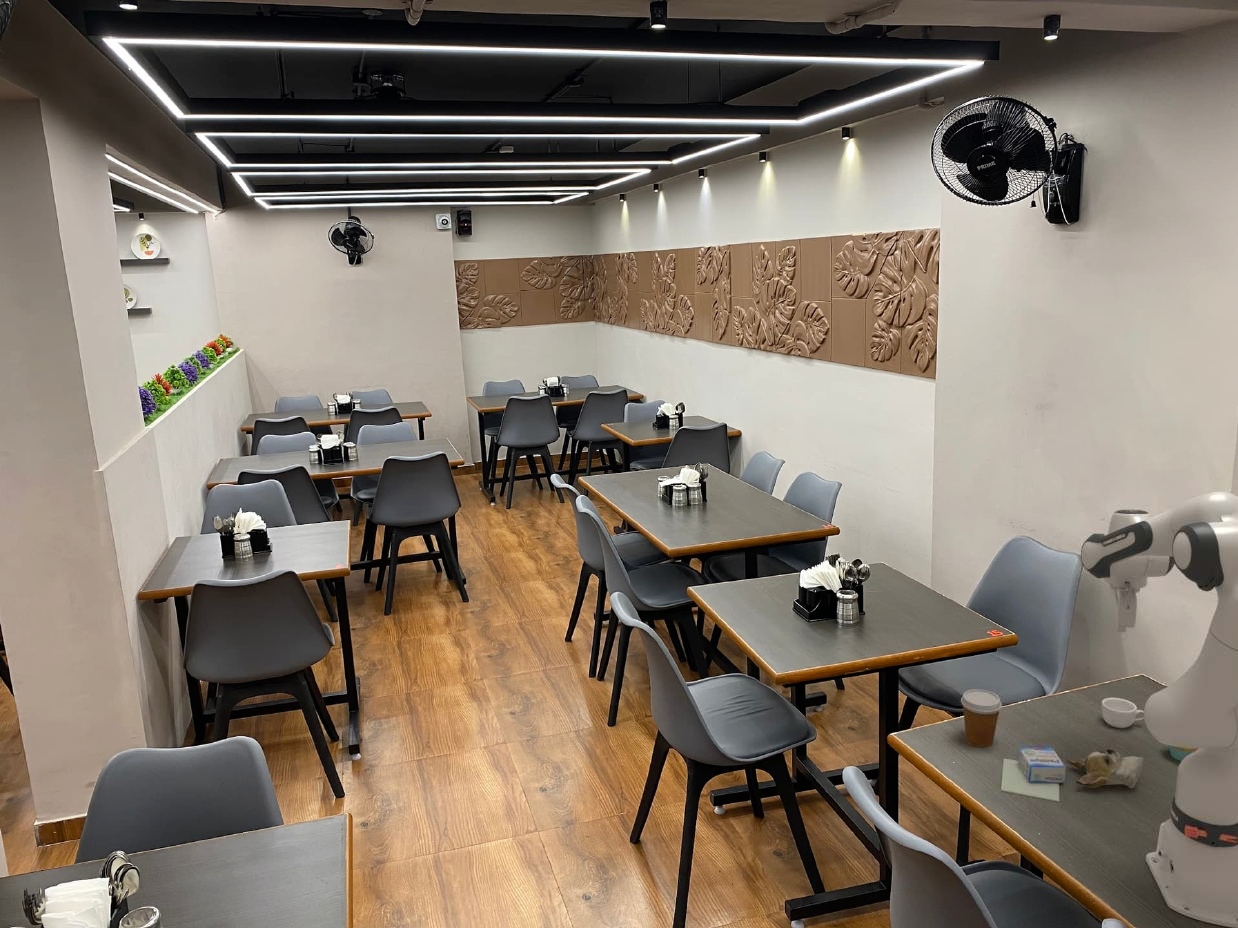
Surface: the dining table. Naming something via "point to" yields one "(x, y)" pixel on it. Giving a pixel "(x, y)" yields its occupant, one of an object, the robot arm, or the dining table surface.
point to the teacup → (1119, 712)
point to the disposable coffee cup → (980, 716)
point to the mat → (1026, 783)
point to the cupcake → (1180, 752)
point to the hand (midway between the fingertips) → (1120, 629)
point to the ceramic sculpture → (1108, 769)
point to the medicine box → (1041, 765)
